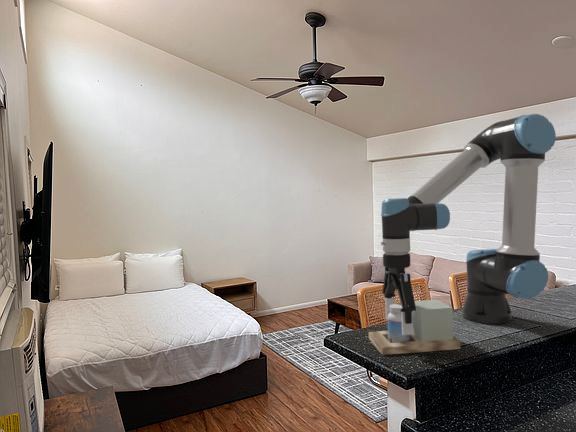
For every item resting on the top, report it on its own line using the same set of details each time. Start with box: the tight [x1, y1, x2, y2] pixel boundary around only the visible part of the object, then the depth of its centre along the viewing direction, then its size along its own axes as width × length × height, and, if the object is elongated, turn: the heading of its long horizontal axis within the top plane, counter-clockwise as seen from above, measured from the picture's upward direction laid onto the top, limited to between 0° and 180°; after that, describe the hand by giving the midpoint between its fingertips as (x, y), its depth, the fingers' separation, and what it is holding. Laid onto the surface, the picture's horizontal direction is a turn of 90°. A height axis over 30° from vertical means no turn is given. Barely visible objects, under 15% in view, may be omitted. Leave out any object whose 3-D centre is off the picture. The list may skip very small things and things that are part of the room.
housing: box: [412, 299, 454, 342], centre depth 120 cm, size 9×9×9 cm
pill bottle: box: [386, 303, 410, 343], centre depth 119 cm, size 6×6×11 cm
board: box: [368, 330, 461, 356], centre depth 120 cm, size 22×13×2 cm, turn 95°
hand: (398, 326), depth 119 cm, fingers open, 13 cm apart
